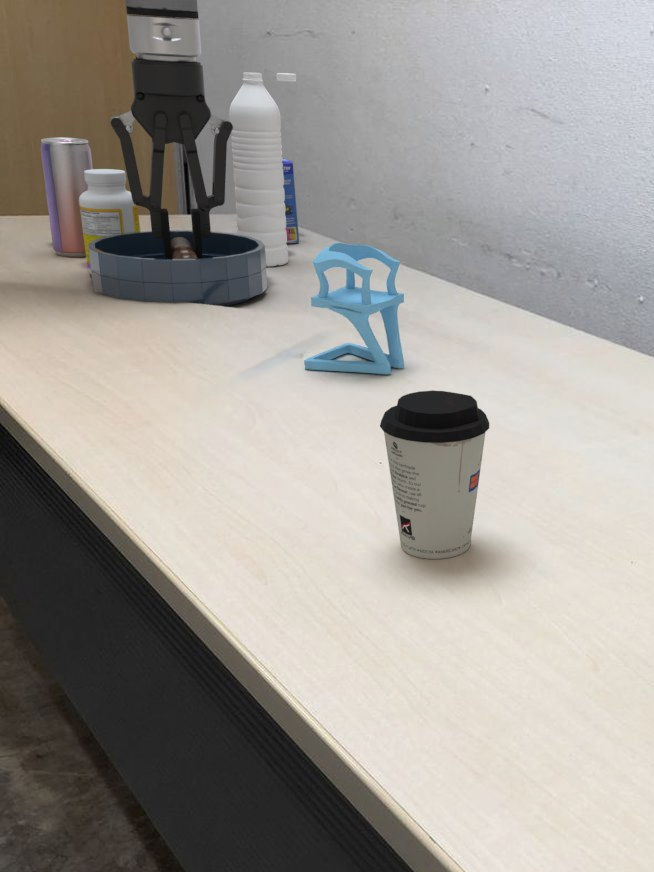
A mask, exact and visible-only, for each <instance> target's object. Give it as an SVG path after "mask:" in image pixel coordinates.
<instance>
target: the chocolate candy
mask: <svg viewBox="0 0 654 872" xmlns="http://www.w3.org/2000/svg"><path fill="white" fill-rule="evenodd" d="M171 250H172V259H198V258H197V256H196V253H195V251H194V249H193V247H192V245H191V243H190V242H189V241H188V240H187V239H186V238H183V237H176V238H173V239H172V240H171Z"/></svg>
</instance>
